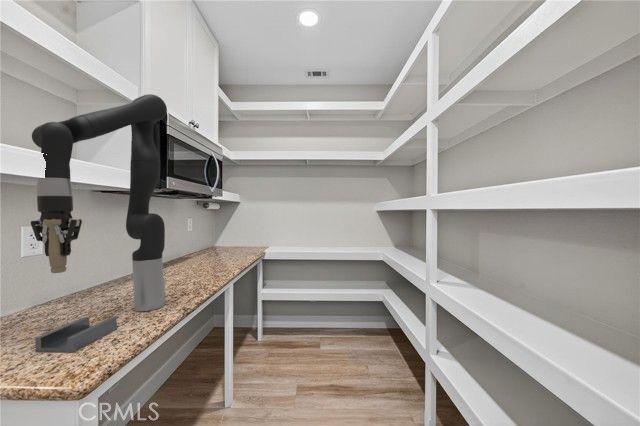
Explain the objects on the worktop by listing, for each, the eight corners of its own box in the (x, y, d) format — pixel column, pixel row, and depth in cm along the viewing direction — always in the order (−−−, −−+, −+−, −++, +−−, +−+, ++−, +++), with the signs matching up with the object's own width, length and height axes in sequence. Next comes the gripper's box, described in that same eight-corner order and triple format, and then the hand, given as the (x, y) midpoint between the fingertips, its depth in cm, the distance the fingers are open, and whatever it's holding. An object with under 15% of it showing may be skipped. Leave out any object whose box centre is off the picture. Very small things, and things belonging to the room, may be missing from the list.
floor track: (84, 329, 87) (84, 317, 87) (116, 329, 87) (116, 317, 87) (35, 352, 74) (35, 337, 73) (73, 352, 73) (72, 338, 73)
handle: (72, 269, 89) (70, 218, 88) (66, 273, 83) (63, 219, 83) (51, 271, 86) (48, 219, 86) (43, 275, 81) (40, 220, 80)
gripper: (90, 194, 87) (92, 253, 88) (45, 196, 89) (48, 254, 89) (65, 193, 80) (68, 257, 80) (17, 195, 81) (20, 258, 81)
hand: (58, 255), depth 85 cm, fingers closed on handle, 4 cm apart
